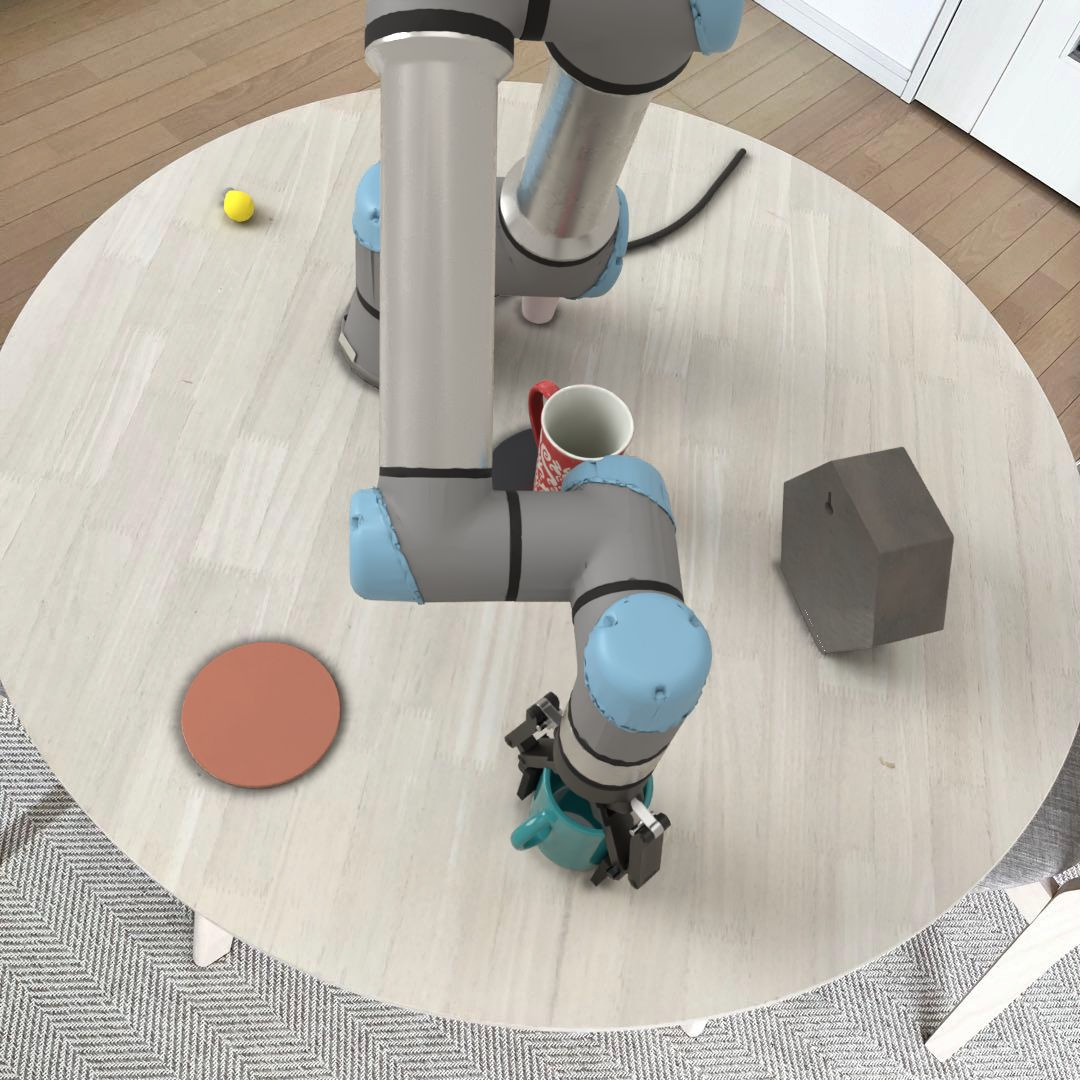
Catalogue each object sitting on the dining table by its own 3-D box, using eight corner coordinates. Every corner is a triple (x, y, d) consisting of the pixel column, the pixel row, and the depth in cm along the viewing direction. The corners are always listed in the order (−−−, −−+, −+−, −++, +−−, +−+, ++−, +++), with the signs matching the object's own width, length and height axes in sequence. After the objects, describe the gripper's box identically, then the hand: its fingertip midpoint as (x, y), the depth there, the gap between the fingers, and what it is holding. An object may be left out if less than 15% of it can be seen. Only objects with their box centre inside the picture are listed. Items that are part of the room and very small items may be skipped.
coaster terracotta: (281, 617, 108) (281, 614, 108) (371, 724, 103) (371, 722, 103) (151, 702, 102) (150, 699, 102) (240, 820, 97) (239, 818, 97)
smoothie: (573, 305, 133) (592, 213, 122) (551, 340, 130) (568, 250, 118) (524, 284, 134) (538, 191, 123) (501, 318, 131) (513, 227, 119)
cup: (479, 817, 100) (490, 775, 90) (593, 755, 104) (615, 709, 94) (531, 909, 96) (548, 875, 87) (647, 841, 101) (675, 802, 91)
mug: (627, 514, 118) (653, 437, 107) (554, 549, 115) (573, 473, 104) (562, 427, 123) (581, 345, 112) (491, 458, 120) (502, 377, 108)
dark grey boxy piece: (938, 678, 107) (961, 479, 98) (867, 697, 106) (884, 495, 96) (842, 598, 122) (854, 417, 113) (778, 613, 120) (785, 430, 111)
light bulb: (238, 232, 133) (223, 207, 130) (223, 210, 137) (208, 186, 134) (263, 217, 133) (248, 192, 131) (248, 196, 137) (233, 172, 134)
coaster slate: (561, 405, 125) (562, 403, 125) (661, 502, 120) (662, 499, 120) (449, 477, 119) (449, 474, 118) (550, 582, 113) (551, 580, 113)
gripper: (756, 820, 79) (682, 899, 98) (549, 601, 85) (518, 714, 105) (681, 891, 75) (620, 958, 95) (473, 657, 82) (455, 763, 101)
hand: (567, 830), depth 100 cm, fingers closed on cup, 9 cm apart
